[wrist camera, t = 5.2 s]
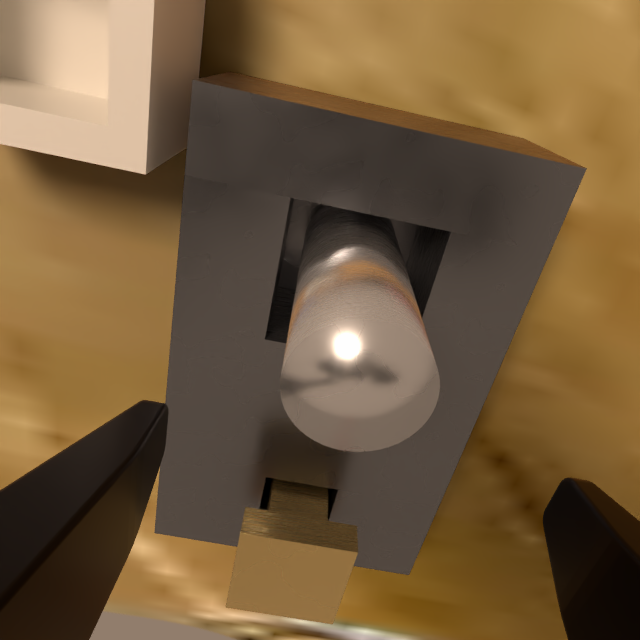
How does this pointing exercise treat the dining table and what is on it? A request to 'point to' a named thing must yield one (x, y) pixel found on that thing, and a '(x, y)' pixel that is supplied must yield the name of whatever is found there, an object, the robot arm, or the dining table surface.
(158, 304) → the dining table surface
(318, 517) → the plug block
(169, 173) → the dining table surface
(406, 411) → the silver metal cylinder
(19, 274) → the dining table surface
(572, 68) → the dining table surface
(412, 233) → the socket block
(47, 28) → the white open box
